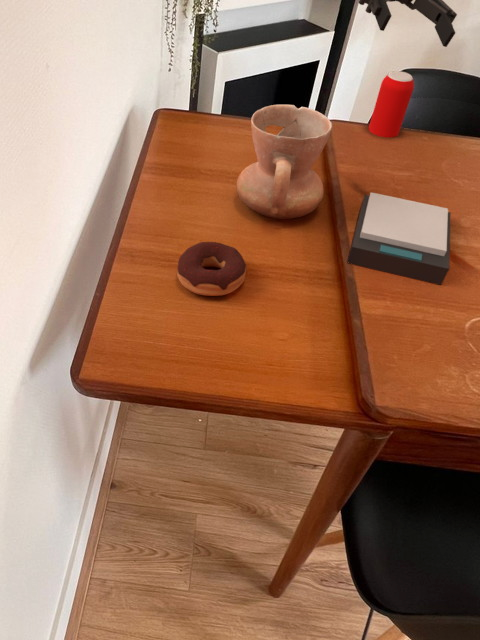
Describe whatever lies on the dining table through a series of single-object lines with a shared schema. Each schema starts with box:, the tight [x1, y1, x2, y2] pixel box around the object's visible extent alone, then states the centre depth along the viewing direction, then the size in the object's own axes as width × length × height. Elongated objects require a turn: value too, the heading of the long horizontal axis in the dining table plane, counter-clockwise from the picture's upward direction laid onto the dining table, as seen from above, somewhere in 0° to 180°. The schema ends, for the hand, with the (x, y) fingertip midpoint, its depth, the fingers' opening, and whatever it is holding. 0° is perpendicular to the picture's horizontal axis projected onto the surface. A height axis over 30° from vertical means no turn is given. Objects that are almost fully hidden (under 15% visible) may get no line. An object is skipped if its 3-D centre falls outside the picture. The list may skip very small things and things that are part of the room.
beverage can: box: [368, 70, 415, 138], centre depth 105 cm, size 6×6×12 cm
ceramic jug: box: [236, 104, 333, 220], centre depth 85 cm, size 18×14×14 cm
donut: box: [176, 241, 247, 297], centre depth 75 cm, size 10×10×4 cm
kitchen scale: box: [346, 191, 452, 286], centre depth 83 cm, size 16×14×4 cm
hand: (418, 31), depth 99 cm, fingers open, 13 cm apart
